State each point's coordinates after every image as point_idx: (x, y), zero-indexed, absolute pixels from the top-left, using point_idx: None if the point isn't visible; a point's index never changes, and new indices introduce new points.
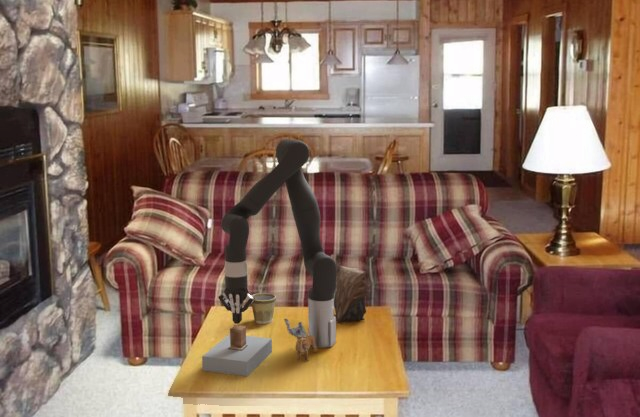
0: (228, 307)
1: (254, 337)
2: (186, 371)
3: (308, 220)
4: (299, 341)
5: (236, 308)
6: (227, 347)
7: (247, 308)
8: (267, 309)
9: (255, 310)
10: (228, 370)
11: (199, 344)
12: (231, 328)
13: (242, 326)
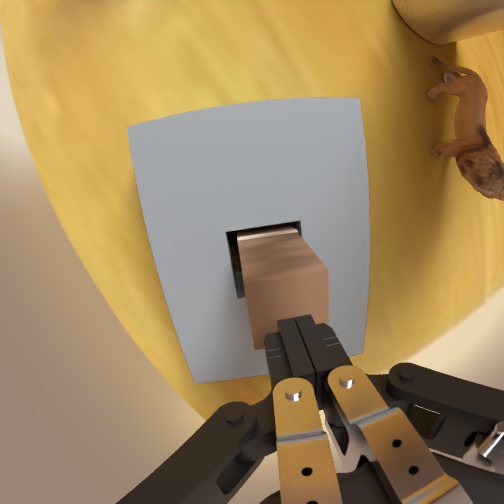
0: (250, 465)
1: (275, 111)
2: (162, 368)
3: None
4: (499, 196)
5: (337, 447)
6: (225, 285)
7: (426, 375)
8: None
9: None
10: None
11: (41, 173)
12: (259, 342)
13: (309, 283)
